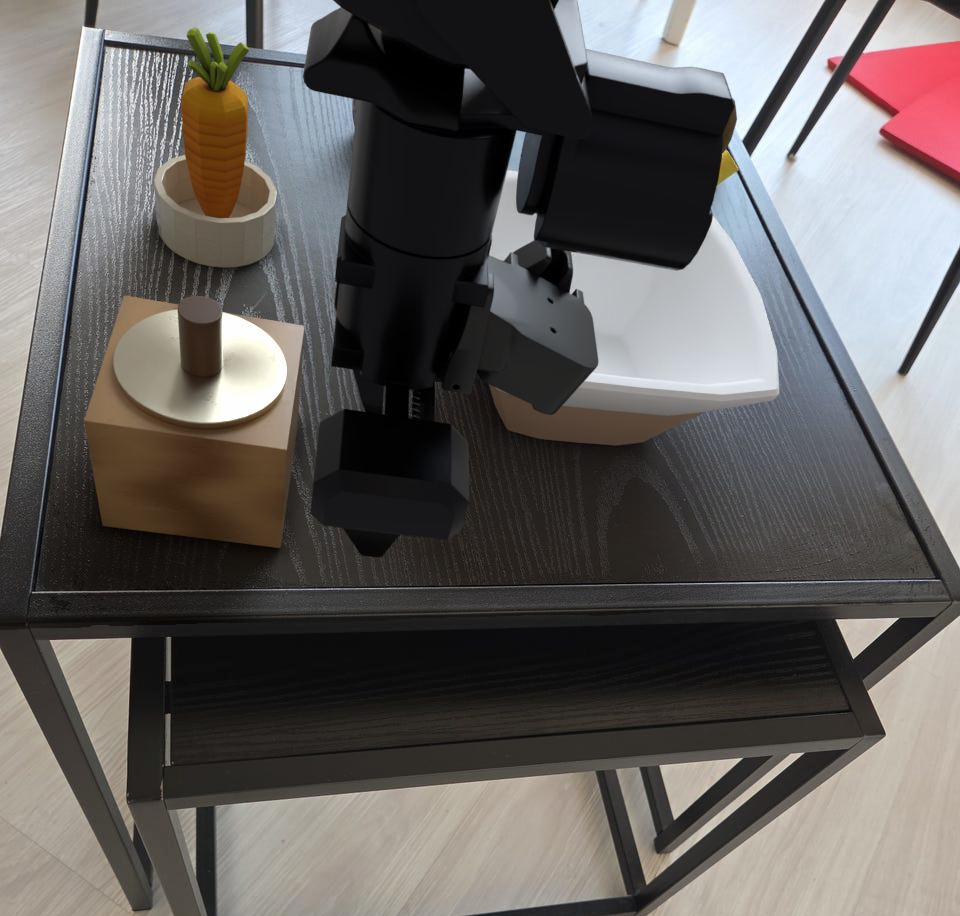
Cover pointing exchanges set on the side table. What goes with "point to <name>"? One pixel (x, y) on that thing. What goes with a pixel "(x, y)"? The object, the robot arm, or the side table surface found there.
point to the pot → (214, 237)
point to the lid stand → (193, 454)
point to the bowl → (652, 341)
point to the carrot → (214, 126)
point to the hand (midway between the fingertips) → (375, 485)
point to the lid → (200, 366)
